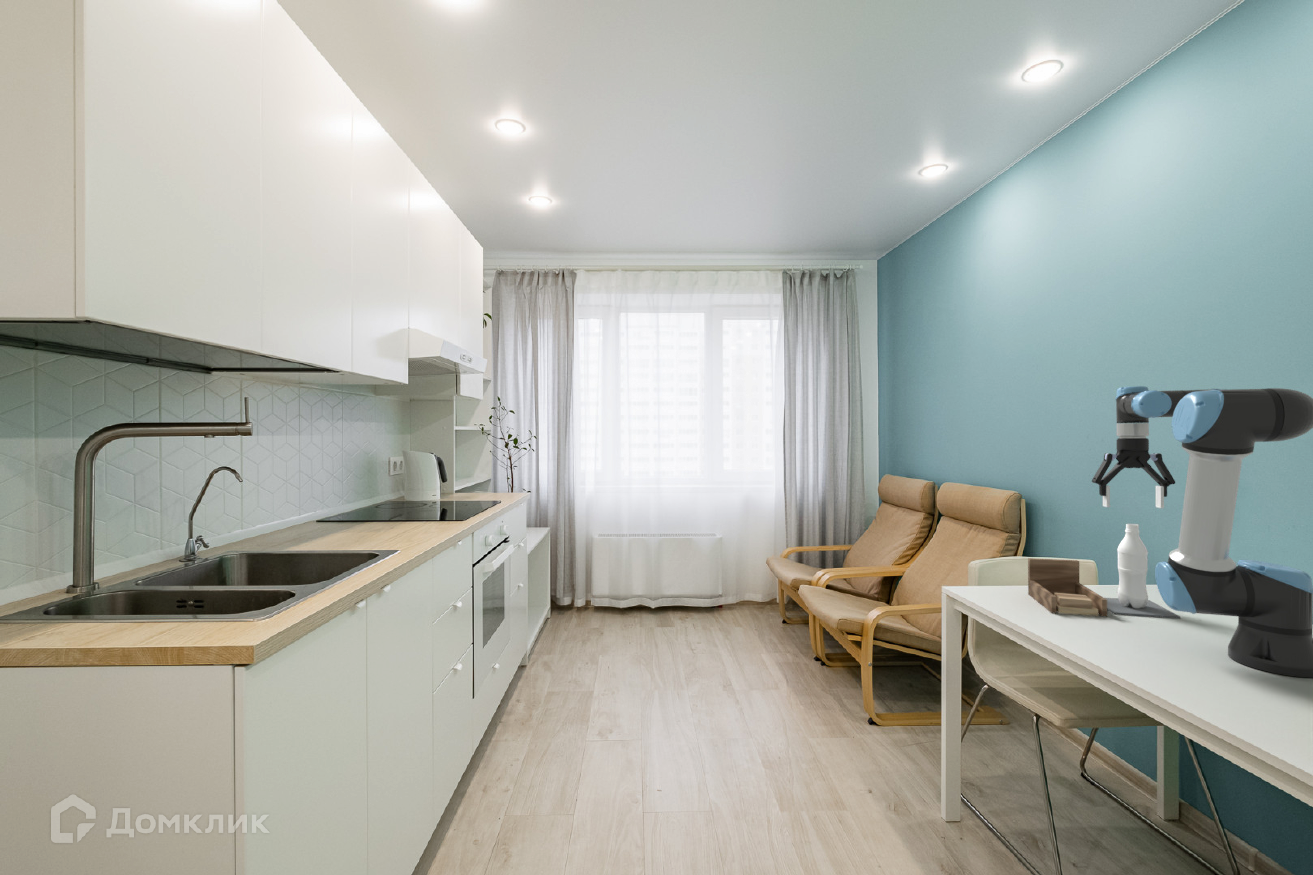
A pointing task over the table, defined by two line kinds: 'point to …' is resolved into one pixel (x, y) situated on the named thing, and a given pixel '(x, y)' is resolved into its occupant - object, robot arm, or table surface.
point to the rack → (1058, 583)
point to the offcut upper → (1073, 600)
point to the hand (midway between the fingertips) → (1132, 507)
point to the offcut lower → (1076, 610)
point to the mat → (1149, 610)
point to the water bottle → (1132, 569)
